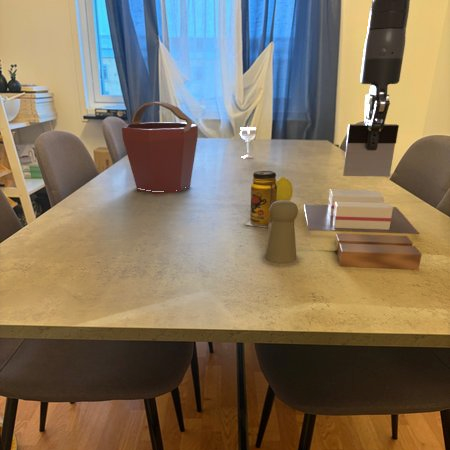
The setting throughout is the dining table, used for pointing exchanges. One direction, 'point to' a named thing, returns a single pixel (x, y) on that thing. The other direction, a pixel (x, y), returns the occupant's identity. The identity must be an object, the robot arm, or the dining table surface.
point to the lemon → (284, 189)
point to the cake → (353, 197)
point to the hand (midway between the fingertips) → (370, 148)
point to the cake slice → (362, 215)
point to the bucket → (161, 151)
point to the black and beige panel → (369, 151)
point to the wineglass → (248, 137)
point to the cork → (282, 232)
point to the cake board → (323, 221)
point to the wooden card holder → (376, 251)
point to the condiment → (262, 198)
